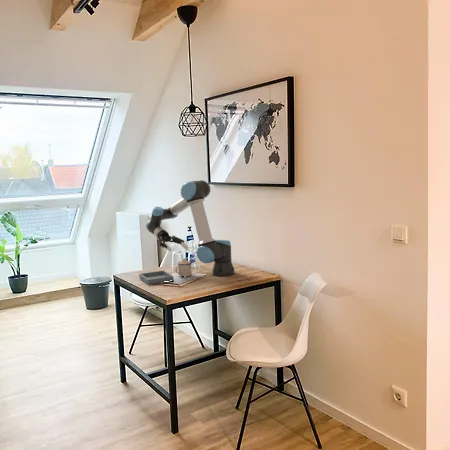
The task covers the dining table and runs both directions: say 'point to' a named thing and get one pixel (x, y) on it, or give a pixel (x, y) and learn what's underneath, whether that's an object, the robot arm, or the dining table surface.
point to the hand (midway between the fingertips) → (178, 248)
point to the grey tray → (155, 277)
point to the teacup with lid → (184, 268)
